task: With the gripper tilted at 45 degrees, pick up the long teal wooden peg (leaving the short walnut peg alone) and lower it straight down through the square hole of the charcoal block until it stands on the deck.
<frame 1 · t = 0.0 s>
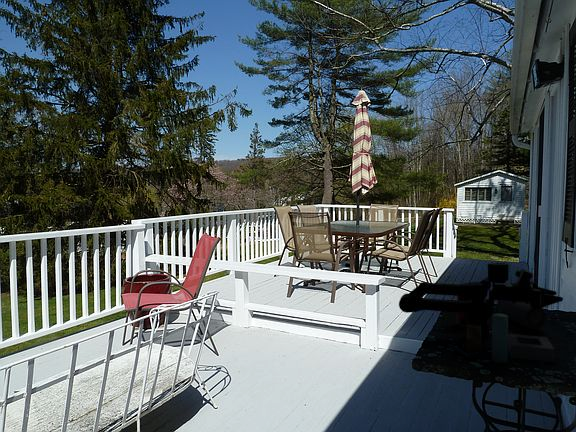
hand: (559, 296, 151), 17 cm above the table, tool horizontal, fingers open, 9 cm apart
long peg: (499, 360, 138), on the table
short peg: (473, 350, 147), on the table
bluetooth speaker: (520, 324, 176), on the table
socket block: (528, 353, 144), on the table
soda can: (466, 325, 175), on the table
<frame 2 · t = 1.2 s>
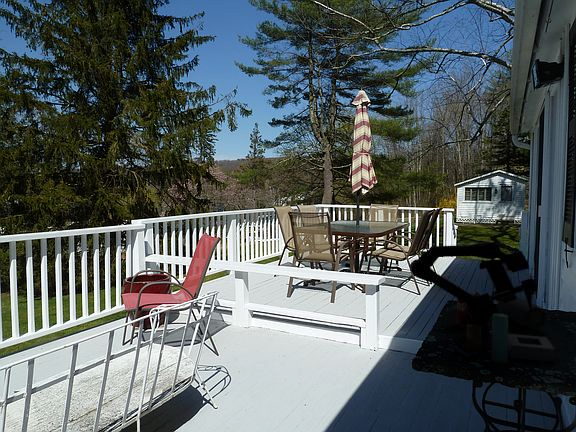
hand: (517, 316, 147), 11 cm above the table, tool tilted 40°, fingers open, 9 cm apart
nothing on the table moved.
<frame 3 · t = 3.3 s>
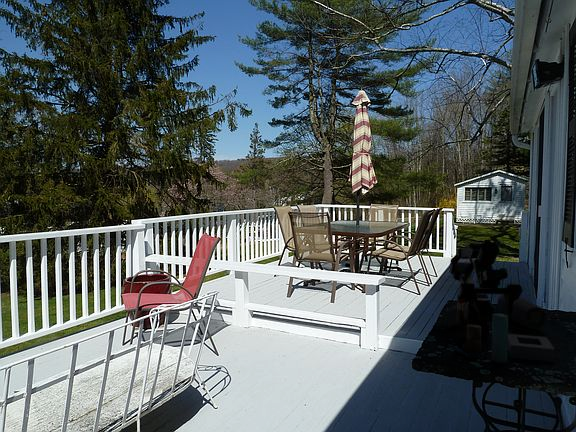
hand: (495, 314, 142), 13 cm above the table, tool tilted 45°, fingers open, 9 cm apart
nothing on the table moved.
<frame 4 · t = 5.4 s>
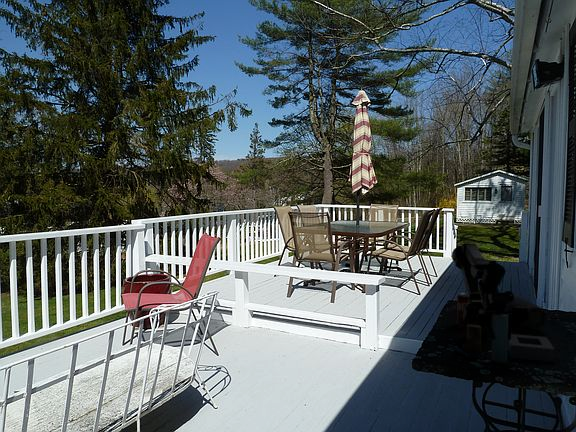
hand: (501, 339, 136), 7 cm above the table, tool tilted 45°, fingers closed on long peg, 4 cm apart
long peg: (499, 360, 138), on the table, touching gripper
everything else where it was.
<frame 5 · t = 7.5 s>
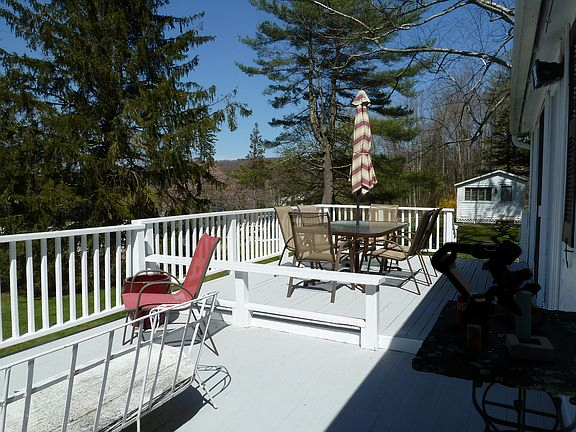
hand: (527, 315, 139), 13 cm above the table, tool tilted 45°, fingers closed on long peg, 4 cm apart
long peg: (522, 336, 141), point 6 cm above the table, touching gripper
everything else where it was.
when the fingers open (7 cm above the table, at t = 9.7 s): long peg stays where it is, resting in socket block.
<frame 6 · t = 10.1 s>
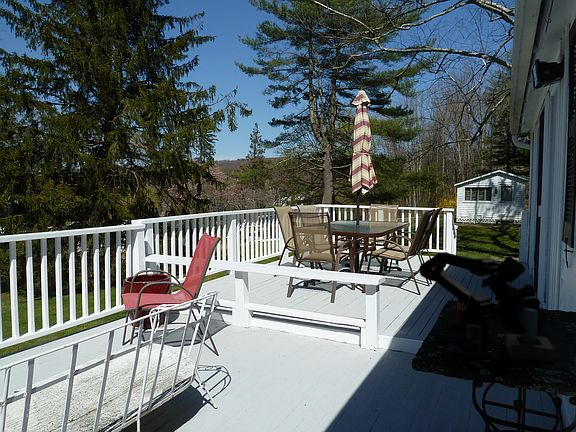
hand: (533, 331, 142), 8 cm above the table, tool tilted 45°, fingers open, 9 cm apart
long peg: (528, 353, 144), resting in socket block
everything else where it was.
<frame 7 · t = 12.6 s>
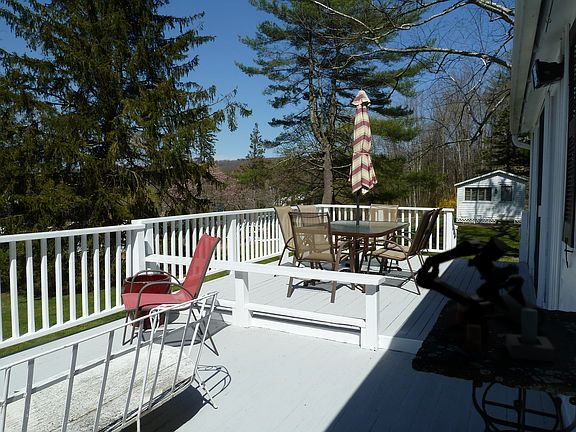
hand: (516, 308, 147), 14 cm above the table, tool tilted 45°, fingers open, 9 cm apart
nothing on the table moved.
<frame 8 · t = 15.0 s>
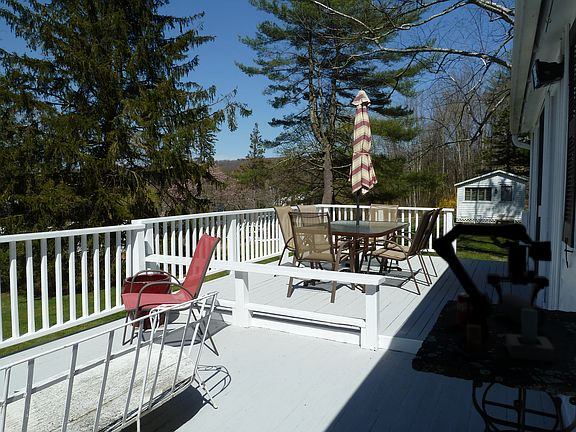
hand: (516, 304, 154), 13 cm above the table, tool pointing down, fingers open, 9 cm apart
nothing on the table moved.
at the end: long peg 0.0 cm off-centre on the socket block, point 0.0 cm above the socket block's base; the gripper is holding nothing; short peg moved 0.0 cm from its start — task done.
